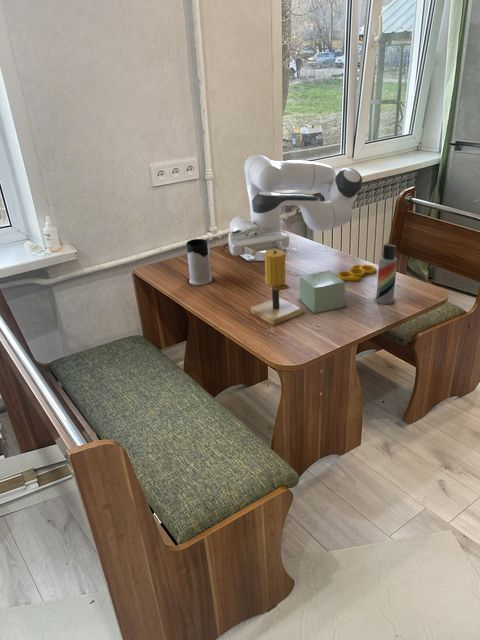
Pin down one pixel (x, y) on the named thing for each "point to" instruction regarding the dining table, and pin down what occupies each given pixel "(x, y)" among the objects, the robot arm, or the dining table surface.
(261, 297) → the dining table surface
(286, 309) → the peg stand
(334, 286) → the display block
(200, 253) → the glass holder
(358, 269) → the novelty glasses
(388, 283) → the lotion bottle
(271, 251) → the slatted lidded canister
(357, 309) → the dining table surface
